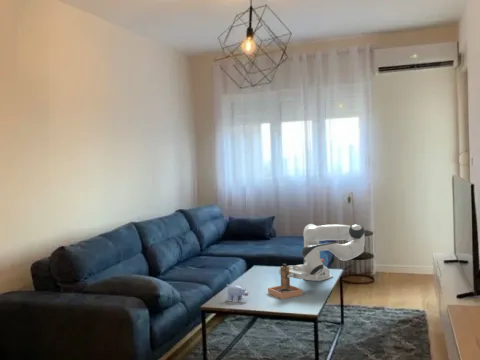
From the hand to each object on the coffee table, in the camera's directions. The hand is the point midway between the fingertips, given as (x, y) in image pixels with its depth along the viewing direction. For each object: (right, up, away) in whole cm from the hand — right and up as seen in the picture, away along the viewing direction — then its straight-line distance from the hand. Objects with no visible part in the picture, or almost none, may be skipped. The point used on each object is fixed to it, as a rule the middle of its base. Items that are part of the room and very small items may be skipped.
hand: (284, 275), depth 313 cm
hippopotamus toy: (-30, -14, -7) cm, 34 cm away
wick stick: (+1, -8, +1) cm, 8 cm away
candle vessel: (+1, -12, +2) cm, 13 cm away
